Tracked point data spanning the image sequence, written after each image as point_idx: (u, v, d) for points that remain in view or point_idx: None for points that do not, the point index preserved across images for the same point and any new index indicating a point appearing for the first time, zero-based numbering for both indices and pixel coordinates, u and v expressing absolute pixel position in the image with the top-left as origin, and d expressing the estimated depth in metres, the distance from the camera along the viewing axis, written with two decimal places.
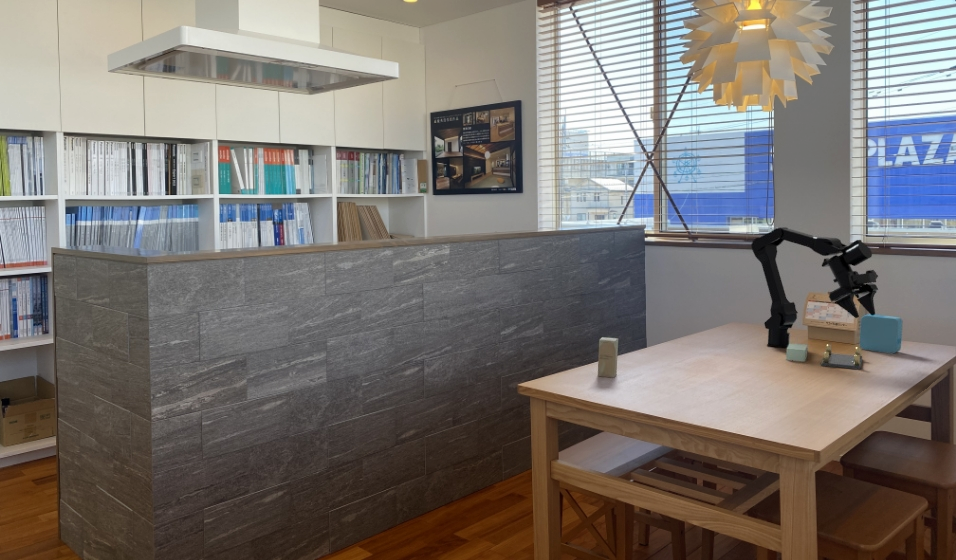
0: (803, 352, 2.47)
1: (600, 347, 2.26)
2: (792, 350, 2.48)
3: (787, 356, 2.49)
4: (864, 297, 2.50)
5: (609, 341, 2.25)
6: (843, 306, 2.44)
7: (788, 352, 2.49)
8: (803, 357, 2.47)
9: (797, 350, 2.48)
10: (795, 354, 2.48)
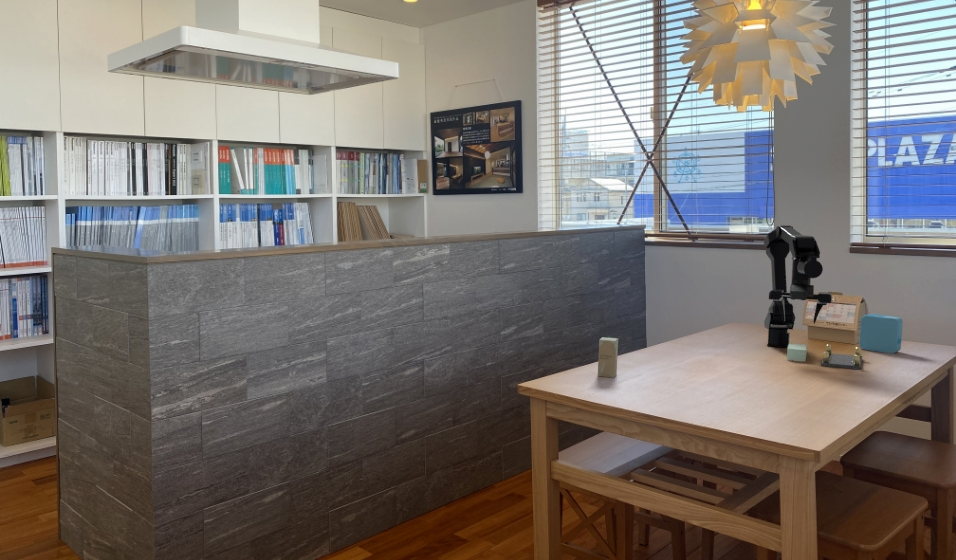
0: (804, 352, 2.47)
1: (600, 347, 2.26)
2: (793, 350, 2.48)
3: (788, 356, 2.49)
4: None
5: (609, 341, 2.25)
6: None
7: (789, 352, 2.49)
8: (804, 357, 2.47)
9: (798, 350, 2.48)
10: (796, 354, 2.48)
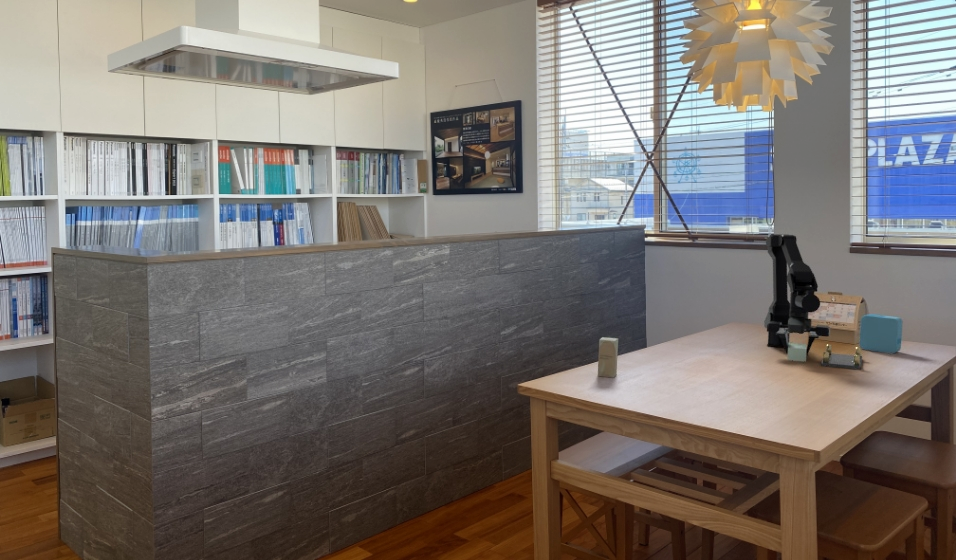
0: (804, 351, 2.47)
1: (600, 347, 2.26)
2: (793, 349, 2.48)
3: (788, 355, 2.49)
4: None
5: (609, 341, 2.25)
6: None
7: (789, 351, 2.49)
8: (804, 356, 2.47)
9: (798, 349, 2.48)
10: (796, 353, 2.48)
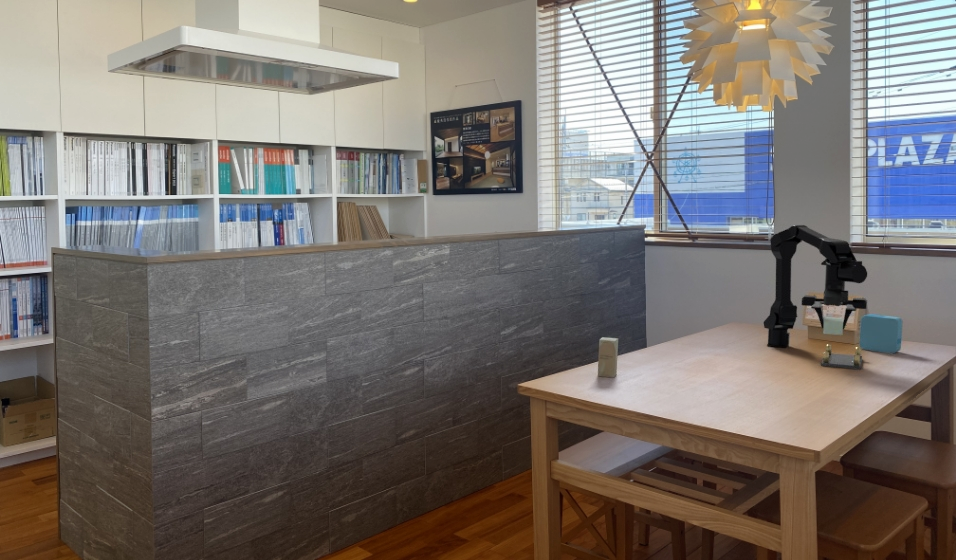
0: (841, 324, 2.40)
1: (600, 347, 2.26)
2: (829, 323, 2.42)
3: (824, 329, 2.42)
4: None
5: (609, 341, 2.25)
6: None
7: (825, 325, 2.42)
8: (841, 329, 2.40)
9: (835, 322, 2.41)
10: (833, 327, 2.41)
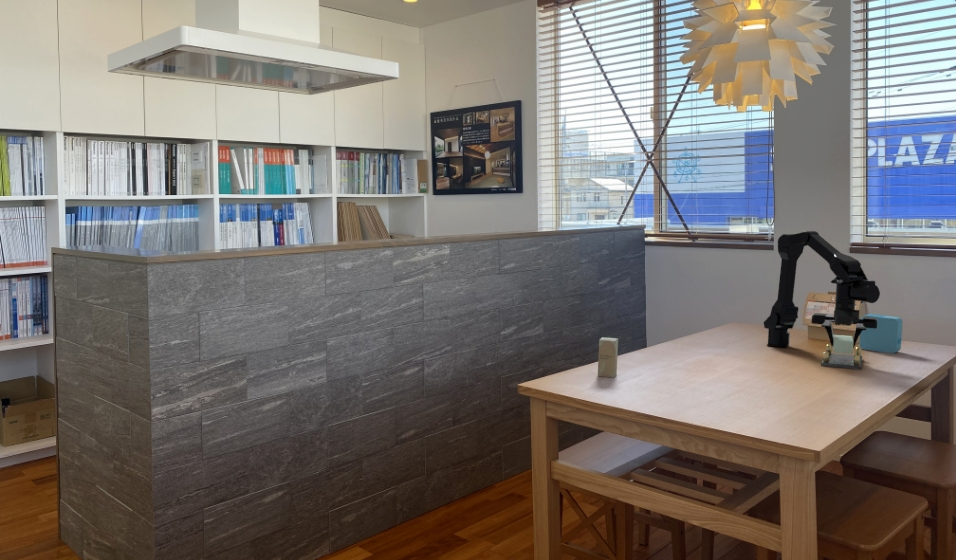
0: (851, 343, 2.40)
1: (600, 347, 2.26)
2: (840, 342, 2.41)
3: (834, 348, 2.42)
4: None
5: (609, 341, 2.25)
6: None
7: (836, 344, 2.41)
8: (851, 349, 2.40)
9: (845, 341, 2.40)
10: (843, 346, 2.41)
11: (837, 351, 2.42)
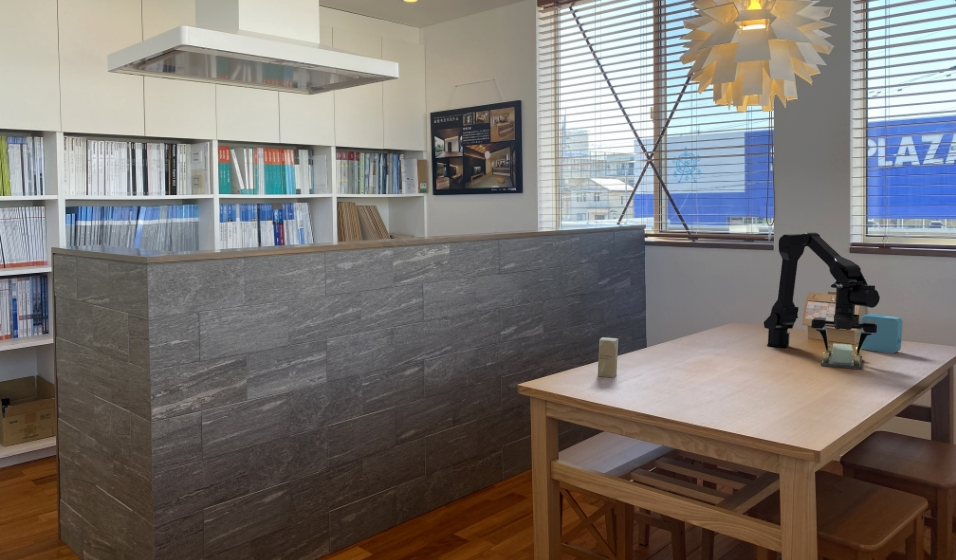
0: (851, 352, 2.40)
1: (600, 347, 2.26)
2: (839, 351, 2.41)
3: (834, 357, 2.42)
4: None
5: (609, 341, 2.25)
6: None
7: (835, 353, 2.42)
8: (851, 358, 2.40)
9: (844, 350, 2.41)
10: (842, 355, 2.41)
11: (836, 360, 2.42)
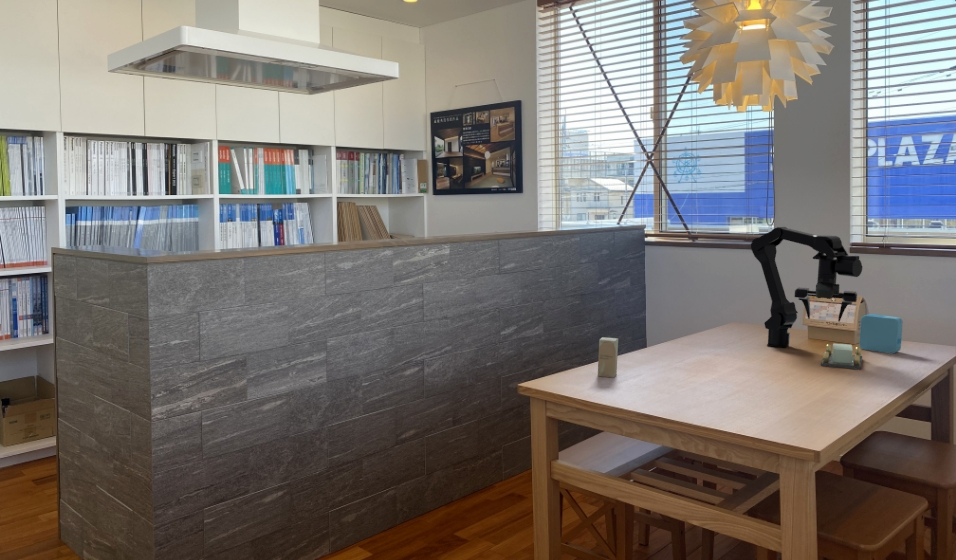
0: (851, 352, 2.40)
1: (600, 347, 2.26)
2: (839, 351, 2.41)
3: (834, 357, 2.42)
4: None
5: (609, 341, 2.25)
6: None
7: (835, 353, 2.42)
8: (851, 358, 2.40)
9: (844, 350, 2.41)
10: (842, 355, 2.41)
11: (836, 360, 2.42)
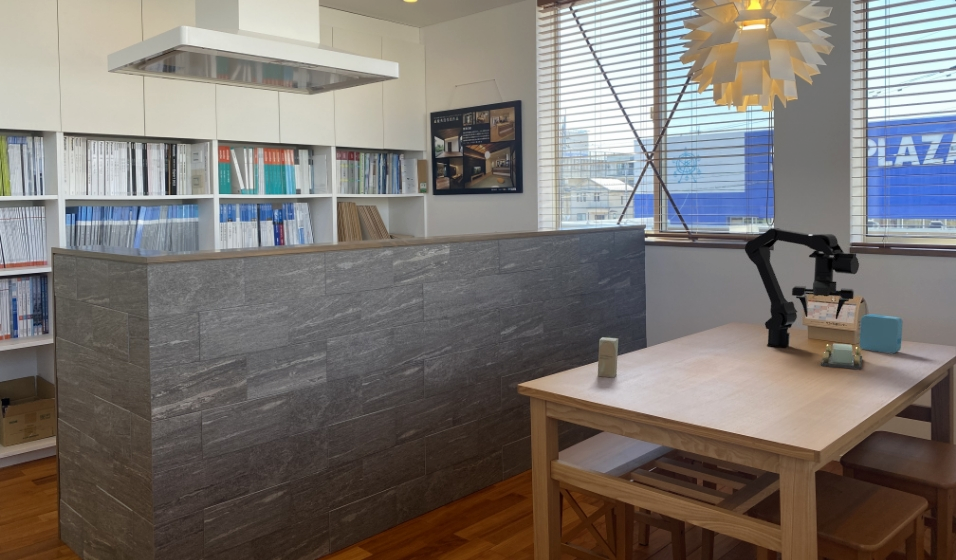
0: (851, 352, 2.40)
1: (600, 347, 2.26)
2: (839, 351, 2.41)
3: (834, 357, 2.42)
4: (839, 299, 2.56)
5: (609, 341, 2.25)
6: None
7: (835, 353, 2.42)
8: (851, 358, 2.40)
9: (844, 350, 2.41)
10: (842, 355, 2.41)
11: (836, 360, 2.42)
